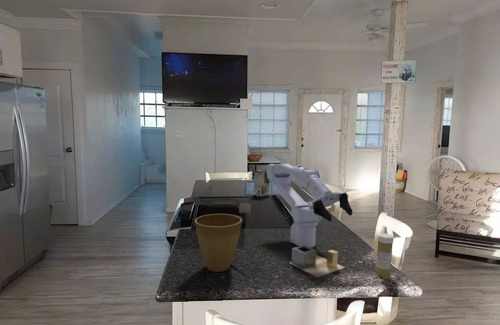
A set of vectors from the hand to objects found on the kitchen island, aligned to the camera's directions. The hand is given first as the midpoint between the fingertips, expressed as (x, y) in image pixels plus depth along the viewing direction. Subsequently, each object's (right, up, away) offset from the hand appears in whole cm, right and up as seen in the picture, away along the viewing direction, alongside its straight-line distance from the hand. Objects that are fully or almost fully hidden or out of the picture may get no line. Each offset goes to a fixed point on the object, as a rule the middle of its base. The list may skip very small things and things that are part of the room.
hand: (340, 216), depth 113 cm
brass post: (-3, -18, +1) cm, 18 cm away
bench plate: (-8, -17, +2) cm, 19 cm away
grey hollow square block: (-12, -16, +2) cm, 20 cm away
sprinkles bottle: (+12, -19, -3) cm, 23 cm away
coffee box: (-22, -4, +113) cm, 115 cm away
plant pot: (-40, -17, +1) cm, 43 cm away
